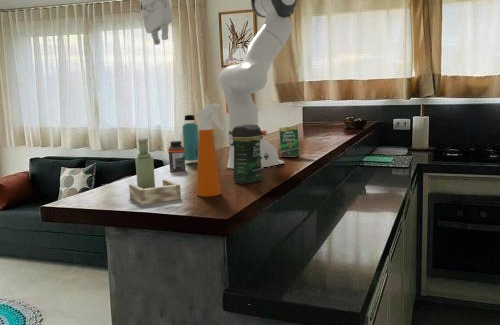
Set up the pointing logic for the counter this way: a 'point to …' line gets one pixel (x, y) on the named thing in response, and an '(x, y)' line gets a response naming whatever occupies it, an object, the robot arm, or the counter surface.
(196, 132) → the beverage bottle
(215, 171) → the spray bottle
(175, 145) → the supplement bottle
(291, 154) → the coffee box
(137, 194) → the u rest
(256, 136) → the coffee jar
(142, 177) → the bottle
